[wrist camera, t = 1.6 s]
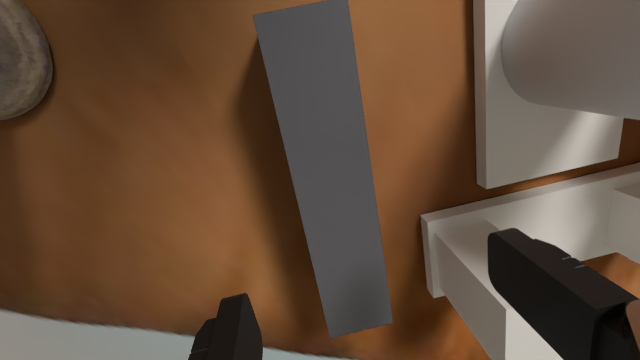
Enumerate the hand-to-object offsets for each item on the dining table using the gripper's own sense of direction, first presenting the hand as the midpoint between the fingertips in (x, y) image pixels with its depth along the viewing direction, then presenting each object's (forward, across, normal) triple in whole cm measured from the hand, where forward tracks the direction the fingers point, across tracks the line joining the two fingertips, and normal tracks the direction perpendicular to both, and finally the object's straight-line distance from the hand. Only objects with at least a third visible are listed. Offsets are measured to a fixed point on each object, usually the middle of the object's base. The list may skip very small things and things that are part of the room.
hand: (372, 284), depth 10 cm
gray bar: (+12, 0, 0) cm, 13 cm away
